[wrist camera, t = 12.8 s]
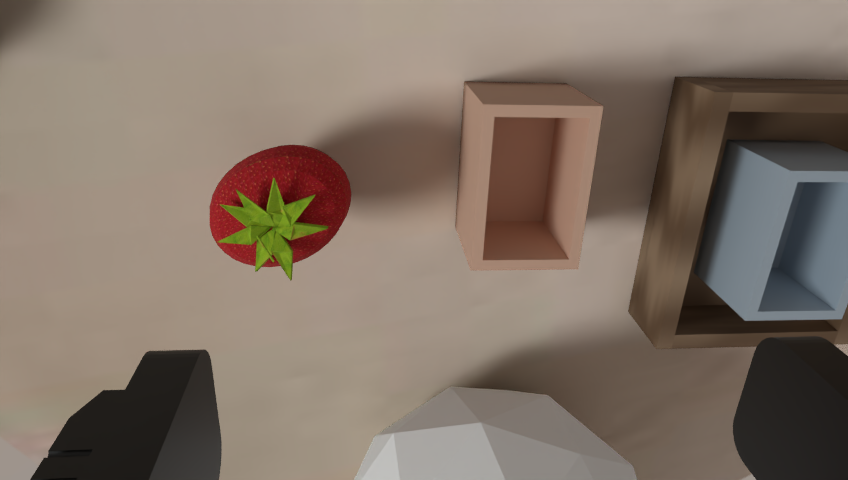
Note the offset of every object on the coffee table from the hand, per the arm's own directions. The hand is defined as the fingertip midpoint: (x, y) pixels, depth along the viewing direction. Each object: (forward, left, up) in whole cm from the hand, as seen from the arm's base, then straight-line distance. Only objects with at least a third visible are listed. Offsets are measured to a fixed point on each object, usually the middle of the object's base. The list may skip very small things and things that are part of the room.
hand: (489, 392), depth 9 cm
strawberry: (+6, -6, -28) cm, 30 cm away
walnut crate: (+8, +23, -28) cm, 37 cm away
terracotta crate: (+5, +7, -28) cm, 29 cm away
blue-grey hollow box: (+8, +23, -27) cm, 36 cm away
